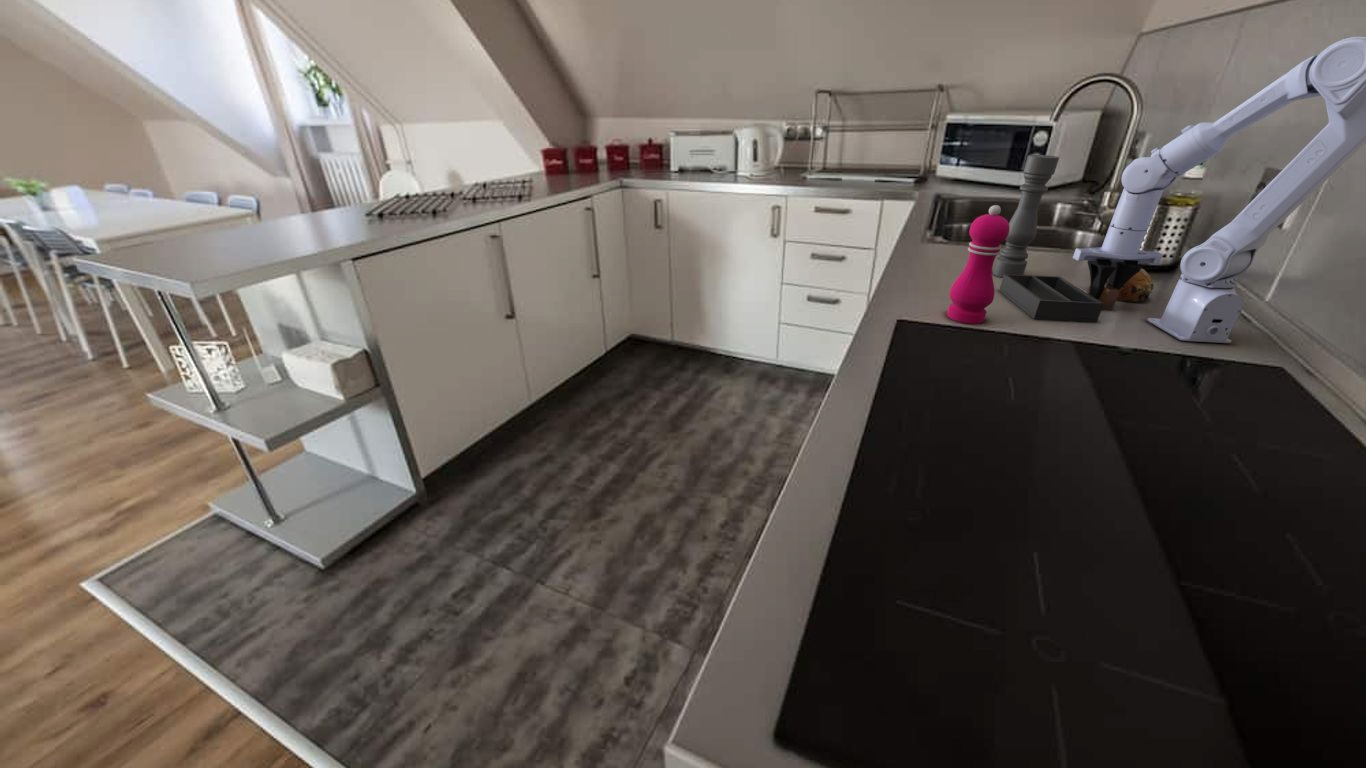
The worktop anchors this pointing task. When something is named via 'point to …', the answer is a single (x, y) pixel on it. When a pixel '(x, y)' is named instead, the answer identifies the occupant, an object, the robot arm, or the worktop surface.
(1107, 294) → the brown block
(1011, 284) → the organizer
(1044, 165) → the candle holder
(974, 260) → the pepper mill
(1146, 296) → the bread roll
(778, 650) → the worktop surface
